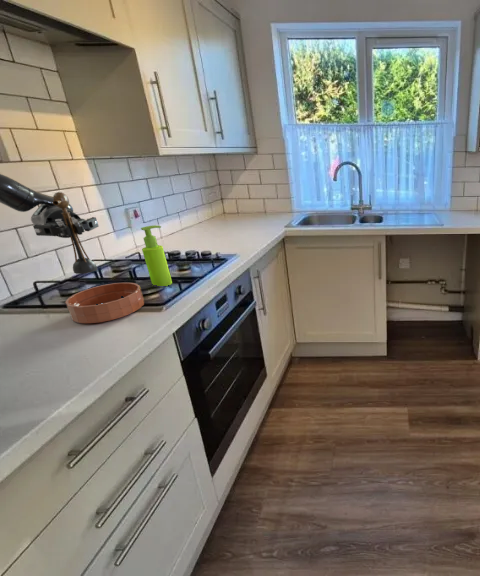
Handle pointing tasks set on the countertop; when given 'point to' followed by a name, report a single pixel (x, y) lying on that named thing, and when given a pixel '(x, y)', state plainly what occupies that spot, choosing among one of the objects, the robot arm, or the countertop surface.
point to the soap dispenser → (155, 259)
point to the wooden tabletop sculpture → (74, 237)
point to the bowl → (105, 302)
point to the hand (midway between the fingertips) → (74, 231)
